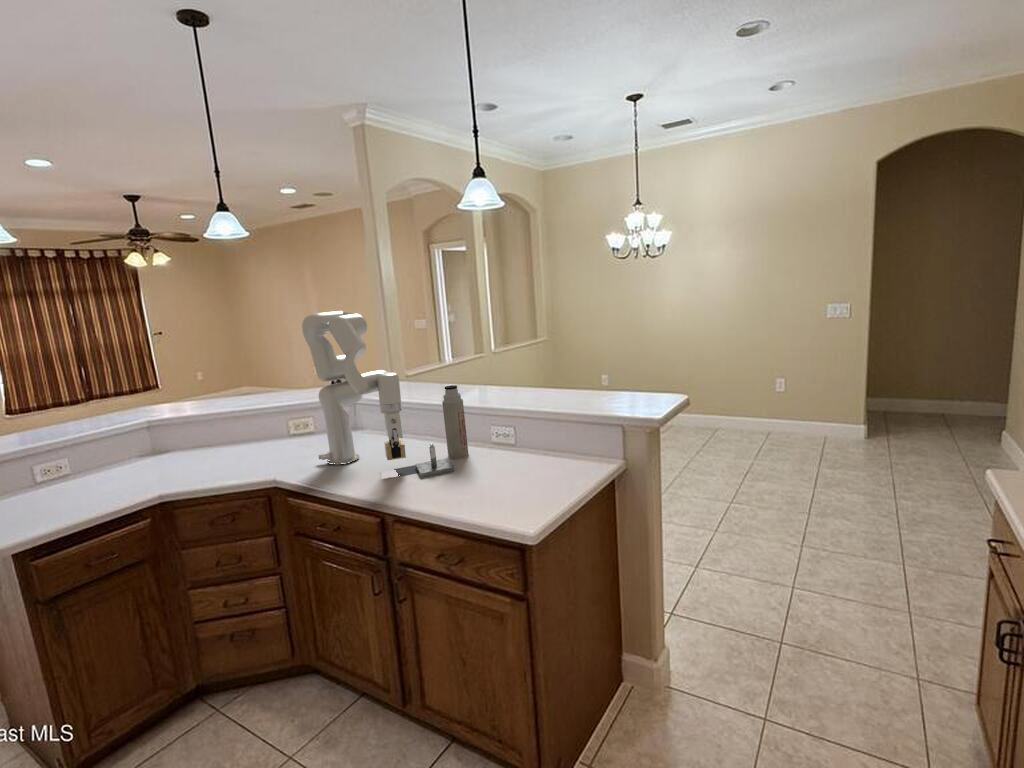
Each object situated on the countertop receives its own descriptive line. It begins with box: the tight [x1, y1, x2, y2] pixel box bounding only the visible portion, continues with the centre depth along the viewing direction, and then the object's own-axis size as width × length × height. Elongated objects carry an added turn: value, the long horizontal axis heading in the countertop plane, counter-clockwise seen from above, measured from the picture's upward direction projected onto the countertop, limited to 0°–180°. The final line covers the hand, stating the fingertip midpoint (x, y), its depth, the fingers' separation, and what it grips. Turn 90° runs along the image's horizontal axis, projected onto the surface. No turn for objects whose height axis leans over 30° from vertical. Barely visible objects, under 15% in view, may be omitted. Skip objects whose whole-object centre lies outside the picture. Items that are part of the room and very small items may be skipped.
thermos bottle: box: [441, 384, 469, 459], centre depth 207 cm, size 8×8×28 cm
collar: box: [384, 439, 407, 461], centre depth 194 cm, size 6×6×5 cm
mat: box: [393, 464, 419, 478], centre depth 194 cm, size 14×10×1 cm
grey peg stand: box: [414, 443, 455, 479], centre depth 193 cm, size 12×12×10 cm
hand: (395, 454), depth 194 cm, fingers closed on collar, 6 cm apart
